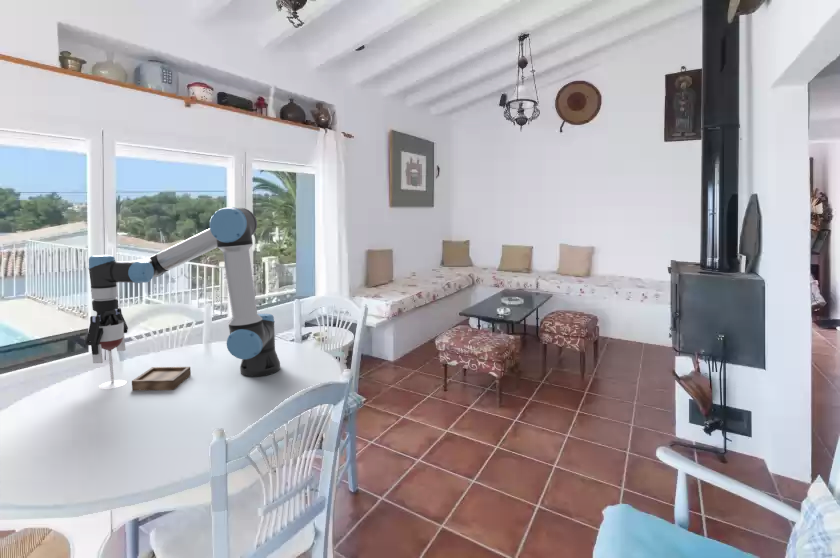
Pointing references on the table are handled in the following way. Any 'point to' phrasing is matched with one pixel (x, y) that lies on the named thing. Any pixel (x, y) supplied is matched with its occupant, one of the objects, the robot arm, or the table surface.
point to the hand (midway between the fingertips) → (110, 356)
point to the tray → (161, 378)
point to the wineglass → (108, 342)
